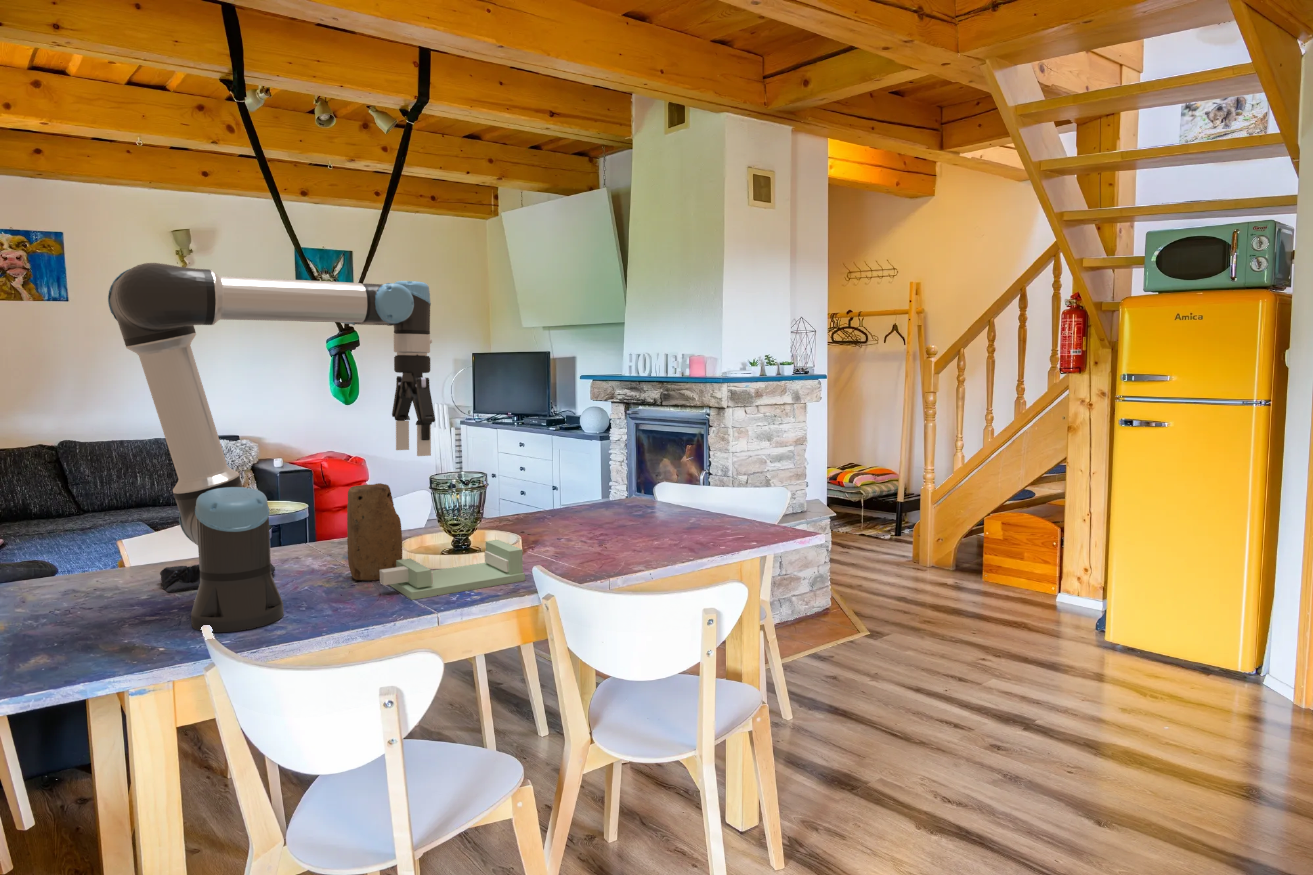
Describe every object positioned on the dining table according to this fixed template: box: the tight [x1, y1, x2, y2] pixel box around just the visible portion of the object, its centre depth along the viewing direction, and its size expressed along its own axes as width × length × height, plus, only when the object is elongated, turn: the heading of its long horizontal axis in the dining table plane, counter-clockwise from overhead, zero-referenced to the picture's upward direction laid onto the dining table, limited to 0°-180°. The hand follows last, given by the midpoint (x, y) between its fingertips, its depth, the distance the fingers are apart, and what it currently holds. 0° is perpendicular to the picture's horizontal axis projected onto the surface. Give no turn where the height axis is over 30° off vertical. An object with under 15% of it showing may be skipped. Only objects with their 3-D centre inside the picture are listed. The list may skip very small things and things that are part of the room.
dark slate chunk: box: [159, 563, 276, 593], centre depth 189 cm, size 15×22×5 cm
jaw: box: [379, 557, 433, 588], centre depth 178 cm, size 8×12×3 cm
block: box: [346, 482, 403, 582], centre depth 189 cm, size 11×8×20 cm
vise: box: [389, 539, 526, 601], centre depth 184 cm, size 24×14×6 cm, turn 125°
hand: (412, 452), depth 191 cm, fingers open, 13 cm apart
